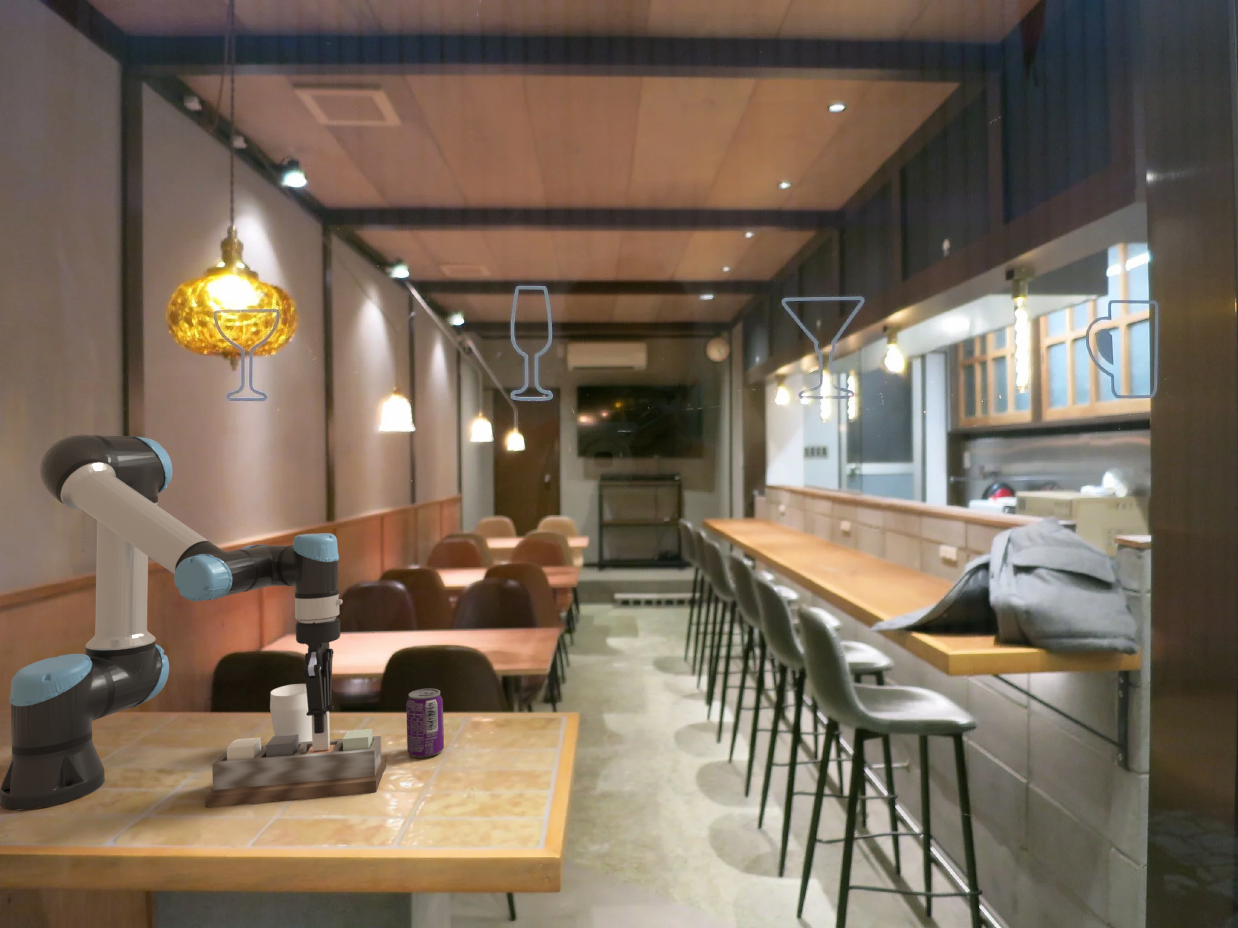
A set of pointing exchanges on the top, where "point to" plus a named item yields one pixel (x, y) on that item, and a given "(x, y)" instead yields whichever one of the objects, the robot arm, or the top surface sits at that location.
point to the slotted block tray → (296, 775)
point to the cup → (291, 712)
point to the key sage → (357, 740)
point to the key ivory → (244, 748)
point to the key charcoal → (282, 745)
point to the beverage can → (425, 723)
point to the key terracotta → (321, 750)
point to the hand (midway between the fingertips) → (321, 748)
